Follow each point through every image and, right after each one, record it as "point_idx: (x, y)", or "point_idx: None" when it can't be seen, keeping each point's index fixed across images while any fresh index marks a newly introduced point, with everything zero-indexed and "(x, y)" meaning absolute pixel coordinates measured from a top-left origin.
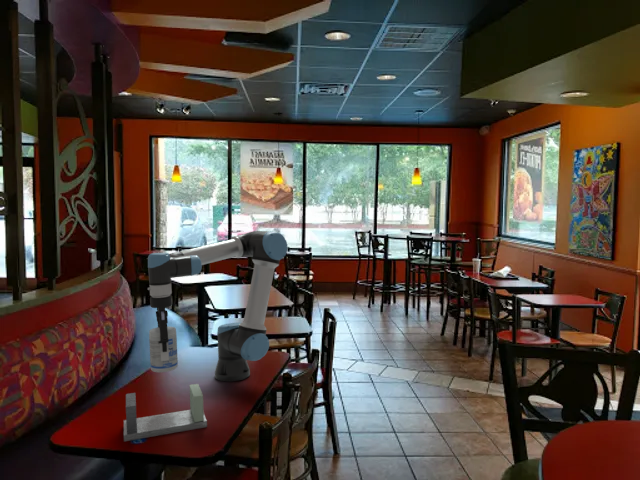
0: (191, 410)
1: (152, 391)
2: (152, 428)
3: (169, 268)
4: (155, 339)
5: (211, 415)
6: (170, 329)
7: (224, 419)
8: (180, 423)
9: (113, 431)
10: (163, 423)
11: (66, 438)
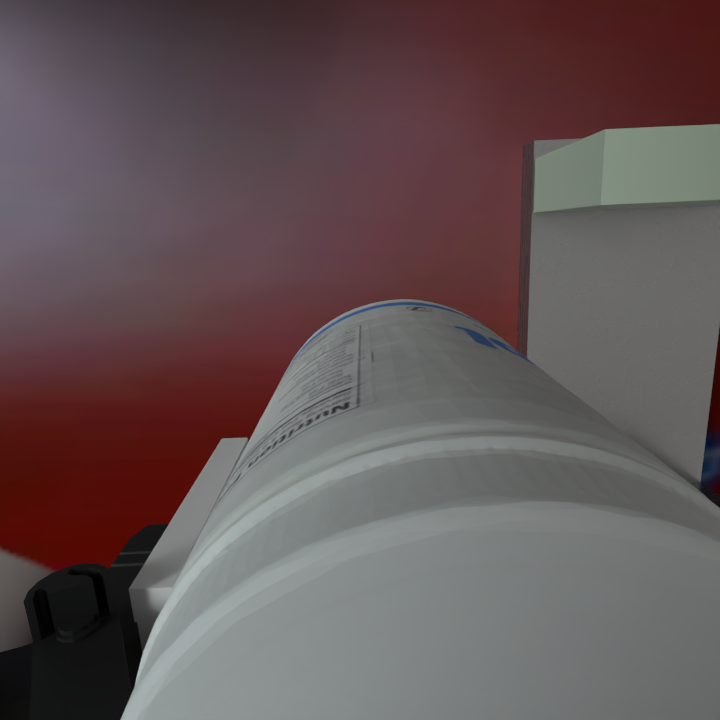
0: (599, 209)
1: (80, 407)
2: (685, 416)
3: None
4: None
5: (578, 93)
6: (657, 678)
7: (671, 20)
8: (697, 280)
9: None
10: (652, 364)
11: None
